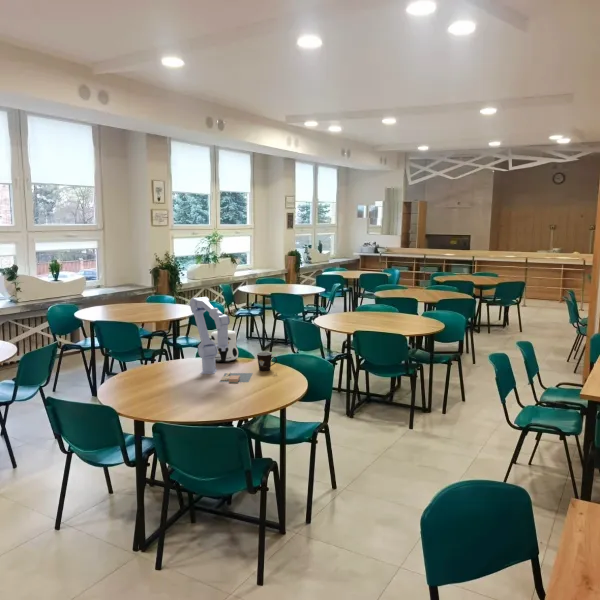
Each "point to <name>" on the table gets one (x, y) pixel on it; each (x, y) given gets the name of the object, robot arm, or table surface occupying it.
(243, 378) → the mat
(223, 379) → the turner
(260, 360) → the coffee mug
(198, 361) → the table surface
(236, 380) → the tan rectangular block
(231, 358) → the milk container
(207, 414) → the table surface
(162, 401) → the table surface
